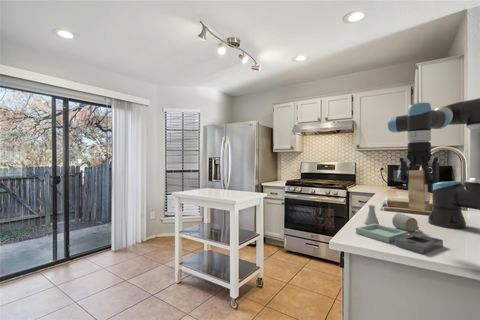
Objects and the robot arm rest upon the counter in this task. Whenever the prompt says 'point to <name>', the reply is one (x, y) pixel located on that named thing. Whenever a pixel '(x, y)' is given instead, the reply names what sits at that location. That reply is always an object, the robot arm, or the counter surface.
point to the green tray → (381, 232)
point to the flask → (371, 216)
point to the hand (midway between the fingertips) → (418, 199)
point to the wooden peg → (417, 191)
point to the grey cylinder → (405, 222)
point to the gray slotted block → (418, 243)
